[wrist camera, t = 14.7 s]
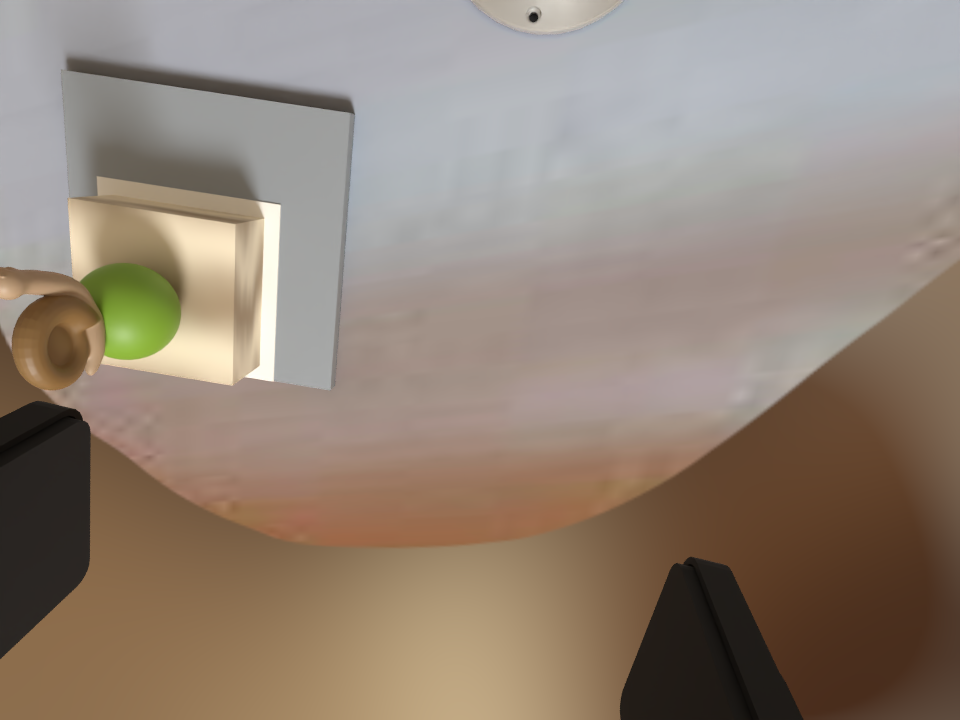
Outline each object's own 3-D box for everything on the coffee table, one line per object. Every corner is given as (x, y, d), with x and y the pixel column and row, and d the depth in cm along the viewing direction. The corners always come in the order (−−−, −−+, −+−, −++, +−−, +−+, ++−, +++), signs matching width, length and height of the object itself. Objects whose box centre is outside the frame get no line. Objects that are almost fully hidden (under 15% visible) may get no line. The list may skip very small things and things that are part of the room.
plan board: (72, 71, 38) (59, 69, 37) (354, 114, 38) (349, 112, 37) (88, 344, 44) (78, 349, 43) (334, 385, 43) (330, 390, 42)
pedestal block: (112, 194, 39) (67, 197, 35) (264, 218, 39) (235, 224, 35) (118, 342, 42) (78, 360, 39) (259, 365, 42) (232, 385, 38)
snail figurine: (190, 240, 36) (30, 275, 24) (204, 345, 38) (62, 424, 26) (102, 238, 36) (-97, 272, 25) (120, 343, 38) (-57, 419, 27)
